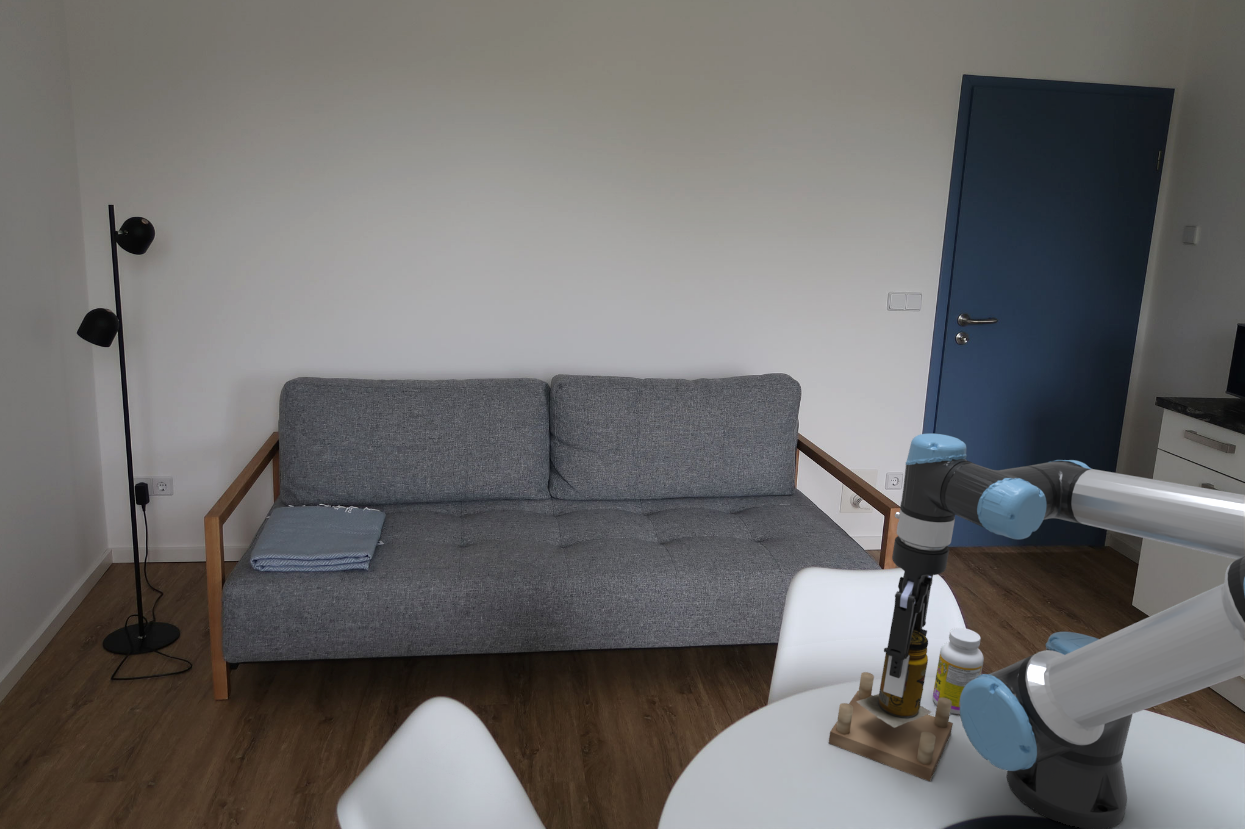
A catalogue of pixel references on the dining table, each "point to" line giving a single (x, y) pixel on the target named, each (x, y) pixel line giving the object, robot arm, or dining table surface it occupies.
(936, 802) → the dining table surface
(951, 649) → the supplement bottle
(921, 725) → the peg holder
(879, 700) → the condiment
